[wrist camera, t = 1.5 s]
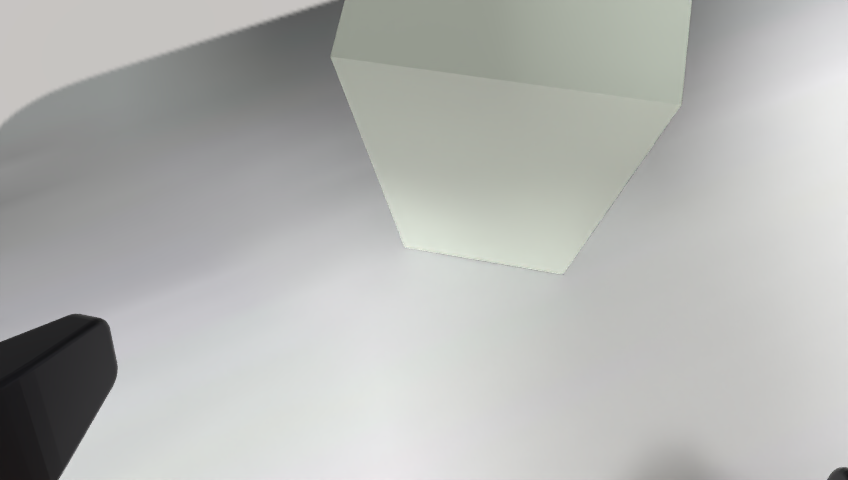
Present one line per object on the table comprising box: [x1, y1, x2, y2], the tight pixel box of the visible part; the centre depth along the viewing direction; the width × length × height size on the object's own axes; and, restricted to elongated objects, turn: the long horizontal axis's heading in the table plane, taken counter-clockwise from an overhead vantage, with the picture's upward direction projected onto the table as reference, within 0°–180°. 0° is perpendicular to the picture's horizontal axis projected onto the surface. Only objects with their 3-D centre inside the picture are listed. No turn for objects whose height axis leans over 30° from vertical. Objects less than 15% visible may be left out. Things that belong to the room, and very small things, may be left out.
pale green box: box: [330, 0, 692, 275], centre depth 17 cm, size 6×6×12 cm
